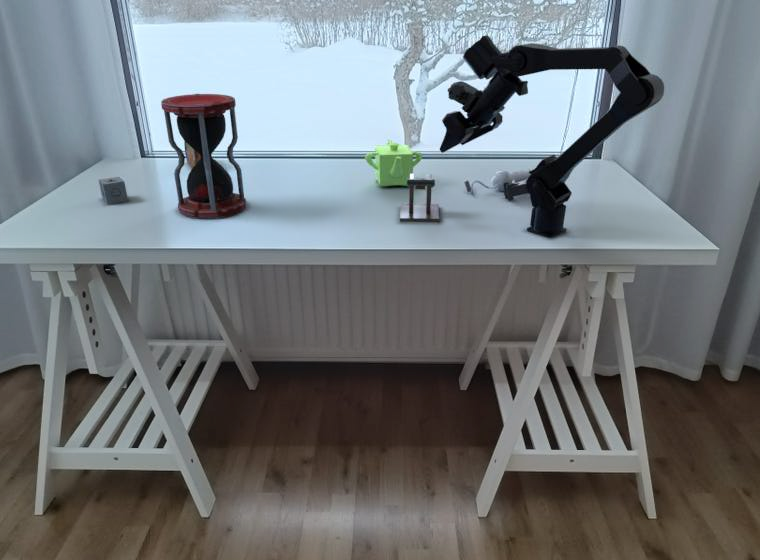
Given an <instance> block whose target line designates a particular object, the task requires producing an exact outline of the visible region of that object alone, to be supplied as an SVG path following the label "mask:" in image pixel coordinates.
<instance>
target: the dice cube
mask: <svg viewBox="0 0 760 560" xmlns="http://www.w3.org/2000/svg"><path fill="white" fill-rule="evenodd" d="M98 185H99V189H100V194H101V198H102V201H104V202H105V204H106V205H108V206H109V205H113V204H114V205H115V204H120V203H121V204H122V203H126V202H129V198H128V193H127V188H126V183H125V181H124V180H123V179H122V178H121V177H120V176H113V177H108V178H99V179H98Z"/></svg>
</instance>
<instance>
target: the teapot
mask: <svg viewBox="0 0 760 560" xmlns="http://www.w3.org/2000/svg"><path fill="white" fill-rule="evenodd" d="M386 143H387V145H375V146H374V151H373V152H369V153H366V155H364V160H365V161H366V164H368V165H369V166H370V167H372V169H374V170H375V171H374V172H375V173H374V175H375V178H376V180H377V182H378V186H380V187H384V188H385V187H386V188H387V187H390V186H401V187H407V179H410V174H414V168H415V167H416V166H417V165H418V164H419V163H420V162H421V161H422V160H423V153H421V152H419V151H414V150H411V148H410V147H409V145H408V144H399V143H398V142H393V141H392V140H390V139H389V140H387V142H386ZM414 156H415V159H414ZM373 157H374V161H373V160H372V158H373Z"/></svg>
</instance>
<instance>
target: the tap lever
mask: <svg viewBox="0 0 760 560" xmlns="http://www.w3.org/2000/svg"><path fill="white" fill-rule="evenodd" d="M407 186H414V187H415V190H416V191H417V190H418V191H425V190H426V187H427V186H434V187H435V186H436V179H433V178H432V179H427V178H420V177H419V178H414V179H407ZM407 186H406V187H407Z"/></svg>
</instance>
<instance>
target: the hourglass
mask: <svg viewBox="0 0 760 560" xmlns="http://www.w3.org/2000/svg"><path fill="white" fill-rule="evenodd" d="M160 102H161V103H160V104H161V105H160V106H161V109H162V111H163V115H164V120H165V126H166V133H167V139H168V143H169V145H170V147H171V148H172V149H173V150H175V152H176V154H177V157H178V164H177V166H176V167H175V169H174V173H173V176H174V181H175V187H176V194H177V201H178V203H177V208H178V209H177V210H178V212H179V213H180V214H181V215H183V216H185V217H188V218H193V219H219V218H225V217H230V216H234V215H237V214H239V213H242V212H243V211H244V210H245V209H246V208H247V198H245V189H244V182H243V171H242V168H241V166H240V164H239V163H238V162H237V161H236V160H235V157H234V148H235V146H236V145H237V142H238V138H239V136H238V127H237V118H236V117H237V116H236V109H235V108H236V98H235V97H234V96H233V95H232V96H231V95H227V94H220V93H192V94H183V95H174V96H170V97H166V98H164V99H162V100H161V101H160ZM227 111H229V117H230V125H231V135H232V138H231V141H230V144H229V145H228V146H227V149H226V156H227V159H228V162H229V164H231V165H233V167H234V169H235V171H236V176H237V177H236V179H237V188H238V193H235V192H234V183H233V179H232V177H231V175H230V173H229V172H228V171H227V169H226V168H224V166H223V165H221V163H220V162H219V161H217V160H216V159H215V158H214V157H213V156H212V154H213V153H214V152H215V150H216V149H217V148H218V146H220V144H221V142H222V141H223V139H224V136H225V134H226V129H227V126H226V125H227V122H226V117H225V114H226V112H227ZM171 113H172V114H174V116H176V126H177V129H178V133H179V135H180V136H181V138H182V139H183V142H184V141H185V142H186V143H187V144H188V145H189V146H190V147H192V148H193V149H194V150H195V151H196V152H197V153H199V154H200V159H199V161H198V162H197V163H196V164H195V166H194V167H193V168H191V170H190V171H189V173H188V176H187V179H186V190H187V195H188V196H186V197H184V196H183V189H182V182H181V176H180V175H181V170H182V169H183V167H185V162H186V161H185V160H186V155H185V154H184V151H183V150H182V149H181V148H180V147H179V146H178V145H177V143H176V141H175V137H174V132H173V125H172V118H171Z"/></svg>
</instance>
